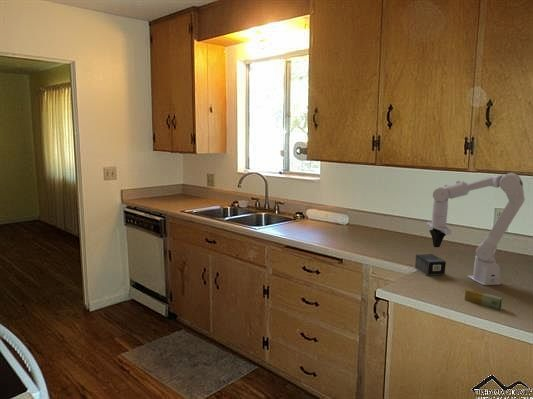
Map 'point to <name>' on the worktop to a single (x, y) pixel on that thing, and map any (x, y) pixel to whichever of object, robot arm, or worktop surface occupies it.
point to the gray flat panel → (425, 273)
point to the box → (430, 264)
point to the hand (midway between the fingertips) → (436, 246)
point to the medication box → (484, 299)
